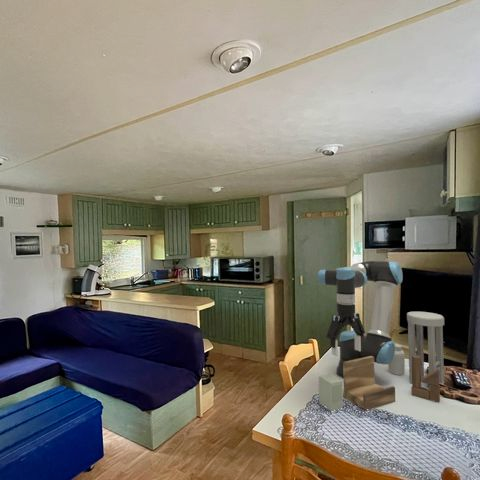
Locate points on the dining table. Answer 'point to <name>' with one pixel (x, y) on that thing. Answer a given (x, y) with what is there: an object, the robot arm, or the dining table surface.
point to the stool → (433, 356)
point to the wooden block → (424, 381)
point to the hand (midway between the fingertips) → (346, 352)
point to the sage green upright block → (330, 392)
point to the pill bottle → (397, 361)
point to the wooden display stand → (364, 384)
